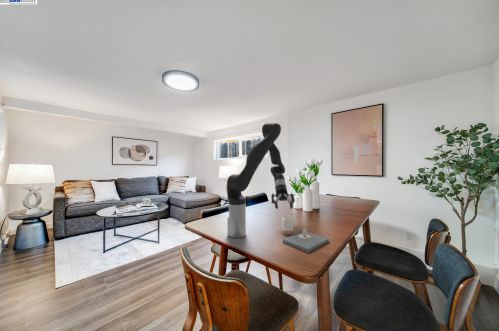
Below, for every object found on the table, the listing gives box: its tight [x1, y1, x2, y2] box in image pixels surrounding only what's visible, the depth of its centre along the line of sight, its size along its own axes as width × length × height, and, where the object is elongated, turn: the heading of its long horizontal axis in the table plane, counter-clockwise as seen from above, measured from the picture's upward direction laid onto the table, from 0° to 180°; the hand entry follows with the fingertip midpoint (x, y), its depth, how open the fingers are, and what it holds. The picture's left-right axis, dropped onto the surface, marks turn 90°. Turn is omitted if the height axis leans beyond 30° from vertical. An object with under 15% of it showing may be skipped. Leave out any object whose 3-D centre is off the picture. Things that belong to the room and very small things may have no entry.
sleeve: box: [281, 216, 294, 235], centre depth 102 cm, size 5×5×8 cm
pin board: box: [282, 228, 330, 253], centre depth 89 cm, size 18×14×5 cm
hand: (284, 208), depth 110 cm, fingers open, 8 cm apart
